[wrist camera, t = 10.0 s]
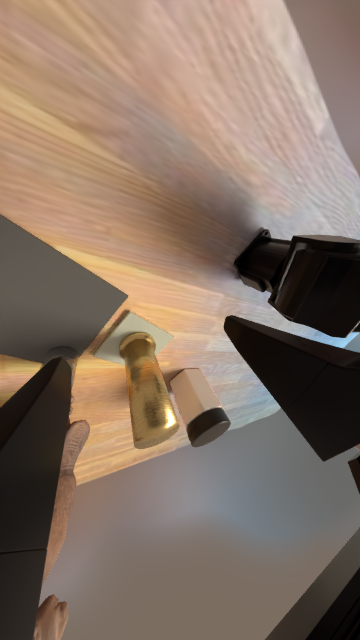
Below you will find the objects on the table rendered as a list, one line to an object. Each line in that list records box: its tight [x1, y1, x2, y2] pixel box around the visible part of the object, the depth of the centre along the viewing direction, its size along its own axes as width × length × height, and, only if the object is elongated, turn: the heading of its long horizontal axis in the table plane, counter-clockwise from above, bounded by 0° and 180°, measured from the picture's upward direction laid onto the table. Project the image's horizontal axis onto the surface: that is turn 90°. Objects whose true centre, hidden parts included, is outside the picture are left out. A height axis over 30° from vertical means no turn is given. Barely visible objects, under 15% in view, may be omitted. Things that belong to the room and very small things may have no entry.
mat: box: [0, 214, 128, 363], centre depth 15 cm, size 14×18×1 cm
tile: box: [94, 311, 174, 365], centre depth 24 cm, size 9×9×1 cm
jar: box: [170, 369, 231, 447], centre depth 32 cm, size 9×8×12 cm
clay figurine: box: [33, 396, 90, 640], centre depth 16 cm, size 13×10×25 cm
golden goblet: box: [119, 332, 179, 449], centre depth 19 cm, size 6×6×13 cm
